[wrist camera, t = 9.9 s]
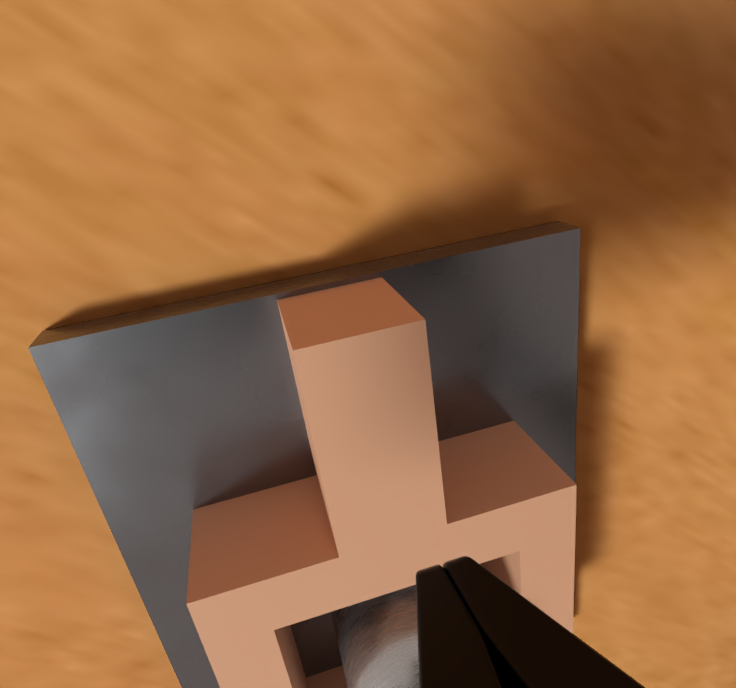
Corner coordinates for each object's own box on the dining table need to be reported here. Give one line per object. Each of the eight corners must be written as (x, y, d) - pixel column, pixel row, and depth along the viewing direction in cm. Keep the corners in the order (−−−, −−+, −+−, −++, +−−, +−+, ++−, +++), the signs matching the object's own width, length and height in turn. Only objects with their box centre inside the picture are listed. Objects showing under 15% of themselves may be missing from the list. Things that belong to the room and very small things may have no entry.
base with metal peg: (557, 221, 14) (777, 286, 9) (556, 627, 21) (679, 814, 15) (42, 331, 12) (-112, 512, 7) (222, 746, 19) (223, 1014, 13)
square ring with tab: (508, 249, 13) (581, 282, 10) (521, 634, 19) (571, 719, 16) (129, 332, 12) (101, 395, 9) (269, 722, 17) (278, 831, 15)
